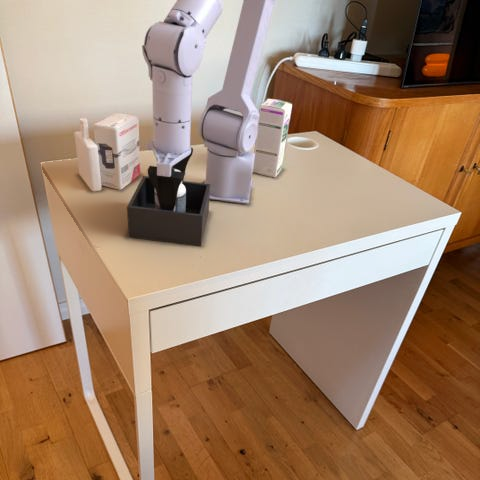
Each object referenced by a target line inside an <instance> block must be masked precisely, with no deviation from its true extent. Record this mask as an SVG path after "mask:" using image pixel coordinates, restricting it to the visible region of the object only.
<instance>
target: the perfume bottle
mask: <svg viewBox="0 0 480 480" xmlns="http://www.w3.org/2000/svg"><path fill="white" fill-rule="evenodd" d="M79 127H80V130H79V131H74V132H73V134H74V142H75V152H76V158H77V166H78V168H77V169H78V175H79V176H80V178H81V179H82V180H83V181H84V182H85V184H86V186H87V187H89V189H90V190H91V191H92V192H99V191H101V190H102V185H101V177H100V167H99V156H98V147H97V145H96V144H95V141H93V139H92V138H91V137H90V130H89V129H90V128H89V123H88V119H87V118H86V117H79Z"/></svg>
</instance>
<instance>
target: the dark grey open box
mask: <svg viewBox="0 0 480 480" xmlns="http://www.w3.org/2000/svg"><path fill="white" fill-rule="evenodd" d="M204 183H205V182H204ZM204 183H203V182H194V181H188V180H183V185H184V186H185V188H186V213H185V212H177V211H169V210H161V209H155V187H154V185H153V183H152V181H151V180H150V178H149V176H148V175H142V178H141V180H140V181H139V183H138V185H137V187H136V189H135V190H134V193H133V194H132V197H131V198H130V201H129V202H128V204H127V206H126V214H127V215H126V216H127V217H126V218H127V231H128V238H131V239H140V240H148V241H157V242H164V243H173V244H181V245H188V246H189V245H190V246H196V247H197V246H198V247H201V246H202V243H203V239H204V235H205V231H206V226H207V222H208V216H209V211H210V200H211V199H210V184H204Z"/></svg>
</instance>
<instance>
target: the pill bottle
mask: <svg viewBox="0 0 480 480" xmlns="http://www.w3.org/2000/svg"><path fill="white" fill-rule="evenodd" d="M175 171H178V172H181V171H179V170H177V169H175ZM155 209H161V208H160V205H159V201H158V197H157V193H156V190H155ZM174 211H177V212H185V213H186V188H185V186H184V185H183V184H182V182H181V184H180V186H179V189H178V193H177V199H176V204H175V208H174Z"/></svg>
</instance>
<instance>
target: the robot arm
mask: <svg viewBox="0 0 480 480" xmlns="http://www.w3.org/2000/svg"><path fill="white" fill-rule="evenodd" d="M275 3H276V0H243V2H242V6H241V10H240V13H239V18H238V22H237V27H236V30H235V35H234V39H233V43H232V47H231V51H230V55H229V60H228V62H227V63H228V64H227V67H226V72H225V75H224V80H223V85H222V88H221V90H219V91H218V92H215V93H214V94H212V95H210V96H209V97H208V98H207V102H206V105H205V108H204V110H203V112H202V114H201V115H200V118H199V121H198V133H199V136H200V139H201V140H202V141H203V147H205V148H206V151H207V152H206V164H205V165H206V166H205V168H206V169H205V180H204V184H210V199H209V200H213V201H221V202H230V203H237V204H245V205H247V204H249V203H250V196H251V191H253V185H254V181H253V173H254V172H253V165H254V157H255V153H254V151H251V150H252V149H253V147H255V141H256V138H257V126H258V120H259V115H260V114H259V109H258V108H257V107H256V105H255V103H254V102H253V100H252V99H251V94H252V90H253V86H254V82H255V78H256V74H257V71H258V66H259V63H260V59H261V56H262V52H263V49H264V44H265V40H266V37H267V32H268V29H269V25H270V22H271V18H272V15H273V10H274V7H275ZM223 10H224V4H223V0H176V2H175V3H174V4H173V6H172V7H171V9H170V11H169V12H168V13H167V15H166V17H165V18H164V20H163V21H160V20H159V21H157V22H154V24H152V25H151V26H150V27H149V28H148V29H147V31H146V32H145V36H144V41H143V45H141V48H142V49H141V51H142V56H143V59H144V61H145V63H146V65H147V68H148V77H149V80H150V81H151V82H152V85H151V86H152V87H151V88H152V128H153V129H152V130H153V131H152V132H153V133H152V135H153V137H152V138H153V140H147V141H146V144H145V149H146V150H149V151H152V153H153V155H154V157H155V160H156V166H155V165H149V167H148V169H147V176H149V178H150V180H151V181H152V183H153V185H154V187H155V190H156V193H157V197H158V201H159V205H160V208H161V210H169V211H174V208H175V204H176V199H177V193H178V189H179V186H180V184H181V182H182V184H183V181H185V180H184V179H185V176H186V170H187V166H188V163H189V161H190V159H191V157H192V156H193V153H194V148H193V147H192V146H191V126H192V100H193V99H192V98H193V75H194V74H195V73H196V72H197V70H198V69H199V68H200V66H201V63H202V58H203V52H204V50H205V47H206V43H207V42H206V41H207V40H206V39H207V37H208V35H209V34H210V32H211V30H212V29H213V27H214V25H215V24H216V22H217V21H218V20H219V18H220V17H221V15H222V14H223ZM227 110H231V111H234V112H230V111H227ZM235 112H238V113H240V114H237V113H235ZM175 169H177V170H179V171H181V172H178V171H175Z"/></svg>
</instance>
